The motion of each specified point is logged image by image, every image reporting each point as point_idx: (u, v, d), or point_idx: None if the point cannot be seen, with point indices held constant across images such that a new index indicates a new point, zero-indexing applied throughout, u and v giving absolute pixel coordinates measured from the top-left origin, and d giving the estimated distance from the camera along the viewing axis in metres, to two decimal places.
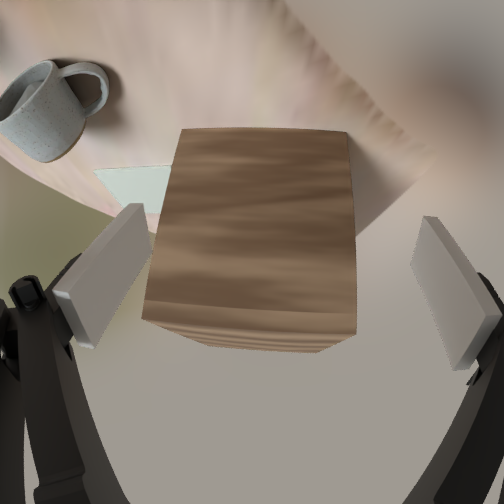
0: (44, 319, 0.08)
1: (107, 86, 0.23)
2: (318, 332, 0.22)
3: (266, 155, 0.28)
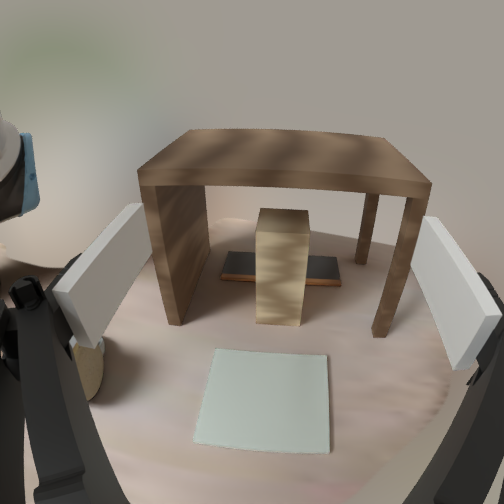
0: (44, 319, 0.08)
1: None
2: (183, 135, 0.37)
3: None
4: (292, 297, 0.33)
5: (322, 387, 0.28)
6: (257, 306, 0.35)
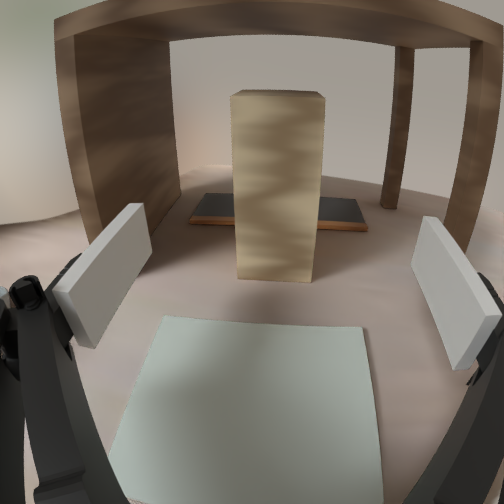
0: (44, 319, 0.08)
1: (3, 288, 0.19)
2: None
3: None
4: (297, 226, 0.19)
5: (361, 385, 0.14)
6: (239, 246, 0.21)
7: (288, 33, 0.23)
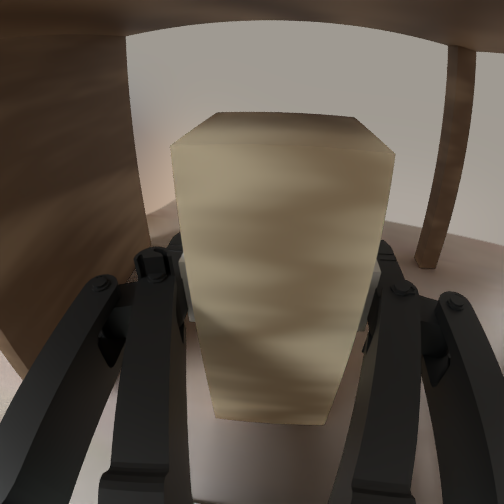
0: (167, 297, 0.09)
1: None
2: None
3: None
4: (310, 374, 0.11)
5: None
6: (214, 389, 0.12)
7: (297, 17, 0.15)
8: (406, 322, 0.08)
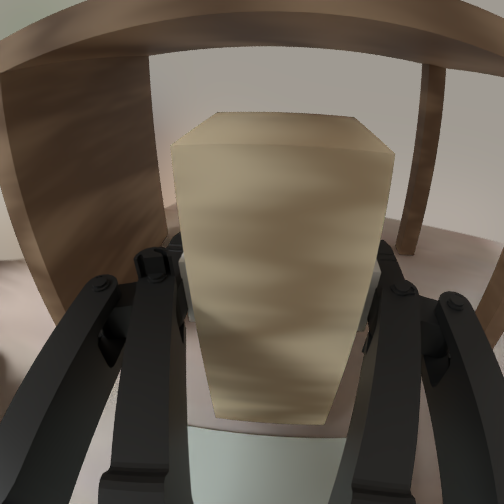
0: (167, 297, 0.09)
1: None
2: None
3: None
4: (310, 373, 0.11)
5: None
6: (214, 389, 0.12)
7: (293, 45, 0.19)
8: (406, 322, 0.08)
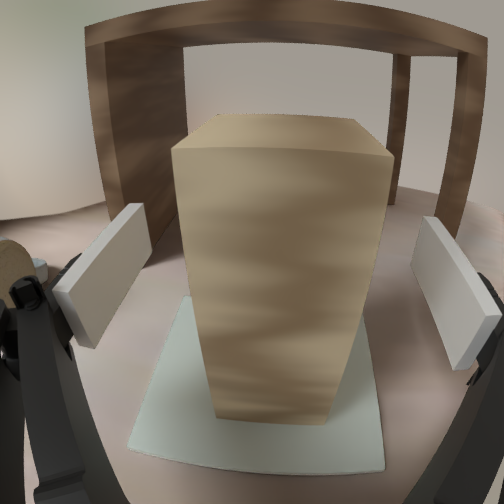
0: (44, 319, 0.08)
1: None
2: None
3: None
4: (310, 374, 0.11)
5: (361, 354, 0.16)
6: (215, 390, 0.12)
7: (294, 42, 0.26)
8: None
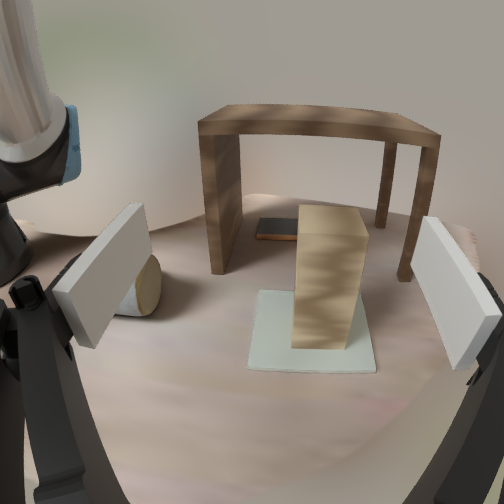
0: (44, 319, 0.08)
1: None
2: (224, 107, 0.41)
3: None
4: (339, 316, 0.26)
5: (361, 317, 0.31)
6: (295, 328, 0.27)
7: None
8: None
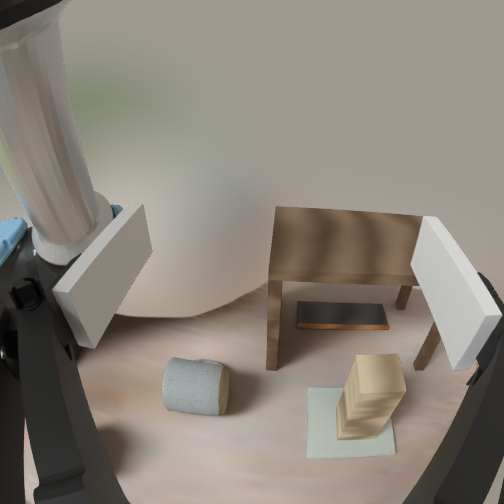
0: (44, 319, 0.08)
1: (212, 361, 0.45)
2: (275, 215, 0.46)
3: None
4: (375, 425, 0.32)
5: None
6: (343, 432, 0.33)
7: None
8: None
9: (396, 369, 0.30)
